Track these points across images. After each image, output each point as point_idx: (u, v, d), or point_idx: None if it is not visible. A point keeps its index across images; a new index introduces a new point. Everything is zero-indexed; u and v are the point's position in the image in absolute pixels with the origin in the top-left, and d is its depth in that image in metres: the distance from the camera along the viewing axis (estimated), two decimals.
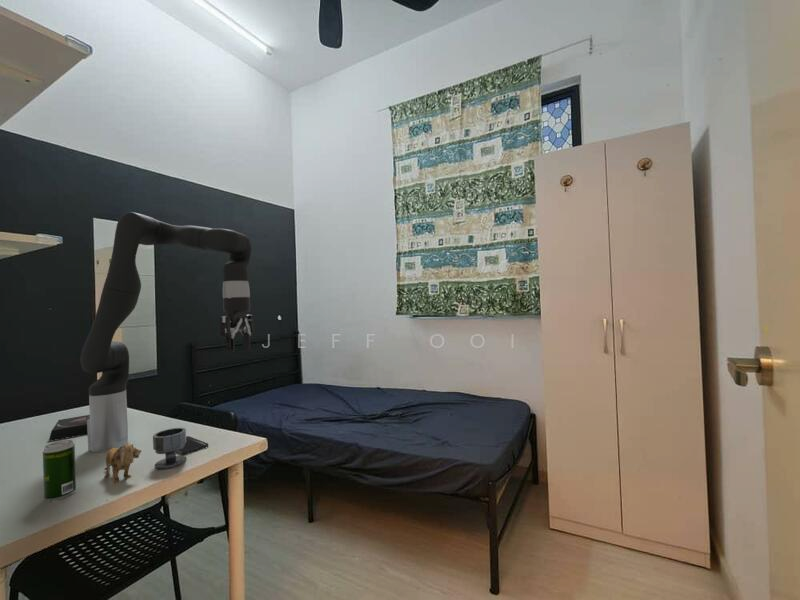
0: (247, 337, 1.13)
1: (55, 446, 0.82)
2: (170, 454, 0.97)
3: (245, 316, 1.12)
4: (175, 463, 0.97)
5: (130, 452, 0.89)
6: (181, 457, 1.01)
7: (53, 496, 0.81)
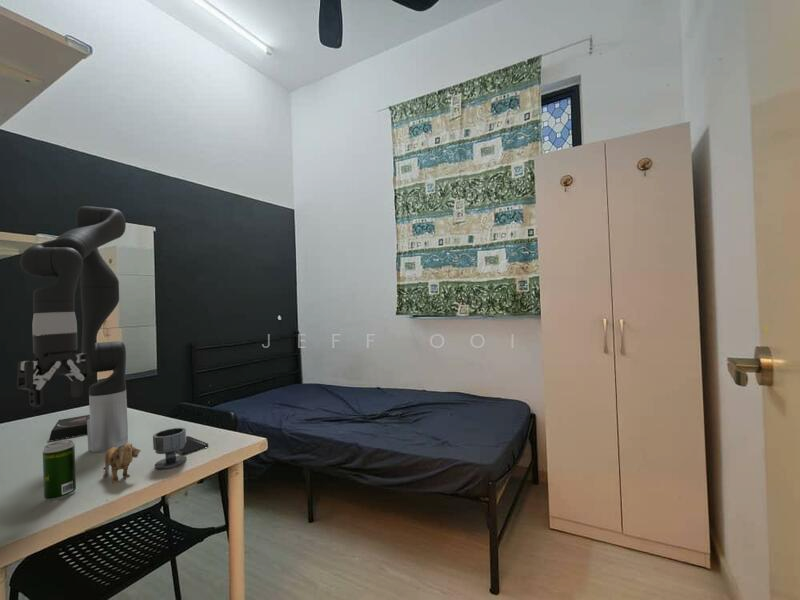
0: (77, 383, 0.88)
1: (55, 446, 0.82)
2: (170, 454, 0.97)
3: (72, 357, 0.86)
4: (175, 463, 0.97)
5: (129, 451, 0.89)
6: (181, 457, 1.01)
7: (53, 496, 0.81)
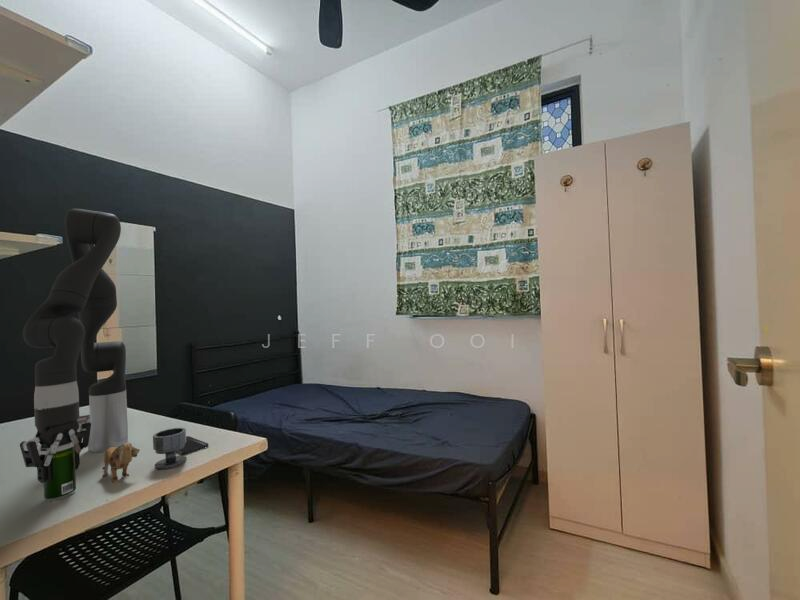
0: None
1: None
2: (170, 454, 0.97)
3: (74, 425, 0.86)
4: (175, 463, 0.97)
5: (128, 451, 0.89)
6: (181, 457, 1.01)
7: (53, 496, 0.81)
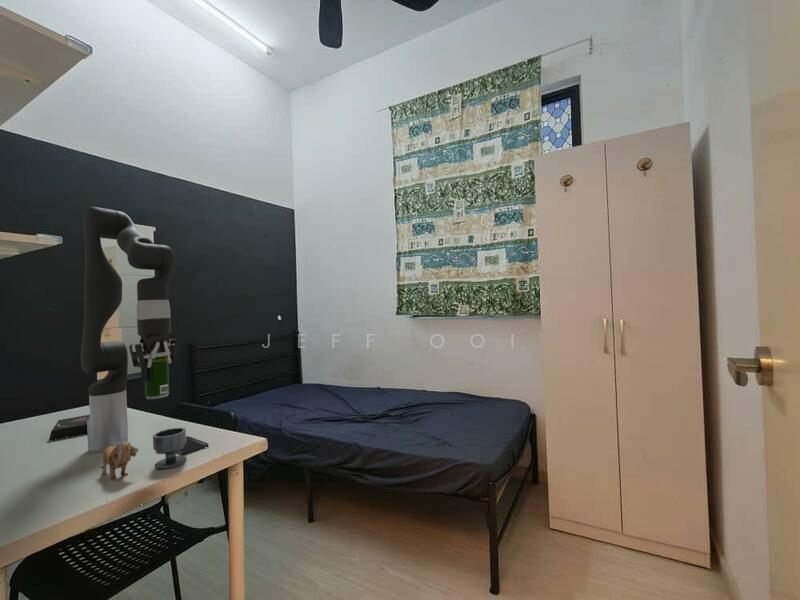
0: None
1: None
2: (170, 454, 0.97)
3: (166, 338, 1.00)
4: (175, 463, 0.97)
5: (127, 450, 0.90)
6: (181, 457, 1.01)
7: (153, 394, 0.94)
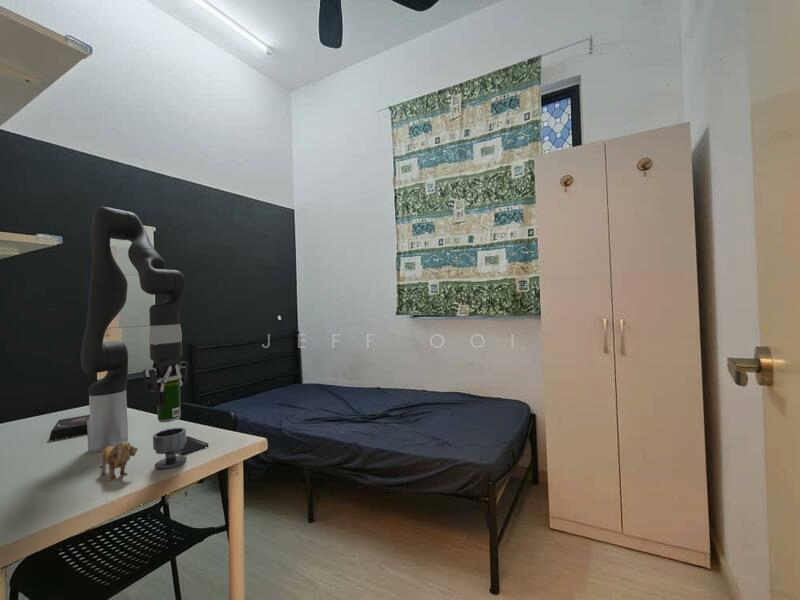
0: None
1: None
2: (170, 454, 0.97)
3: (177, 361, 1.02)
4: (175, 463, 0.97)
5: (126, 450, 0.90)
6: (181, 457, 1.01)
7: (166, 418, 0.96)
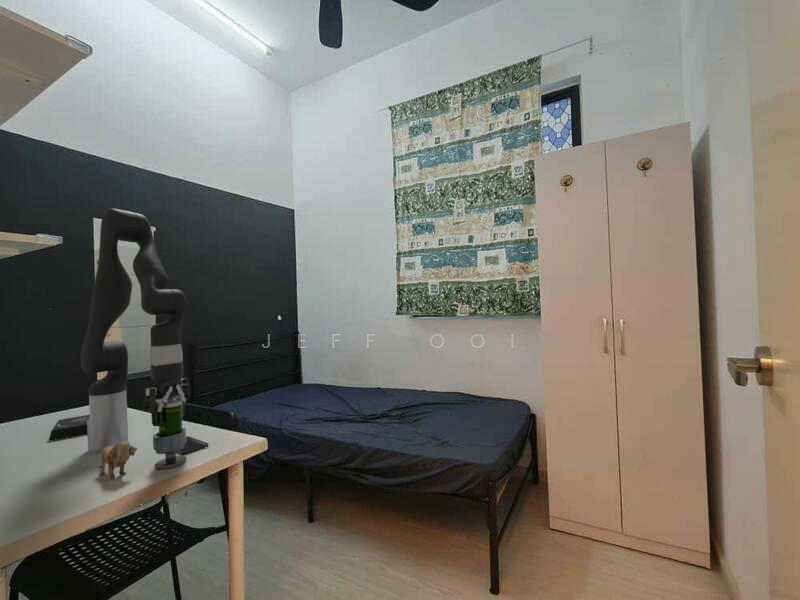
0: None
1: (170, 402, 0.97)
2: (170, 454, 0.97)
3: (178, 381, 1.01)
4: (175, 463, 0.97)
5: (126, 449, 0.90)
6: (181, 457, 1.01)
7: None
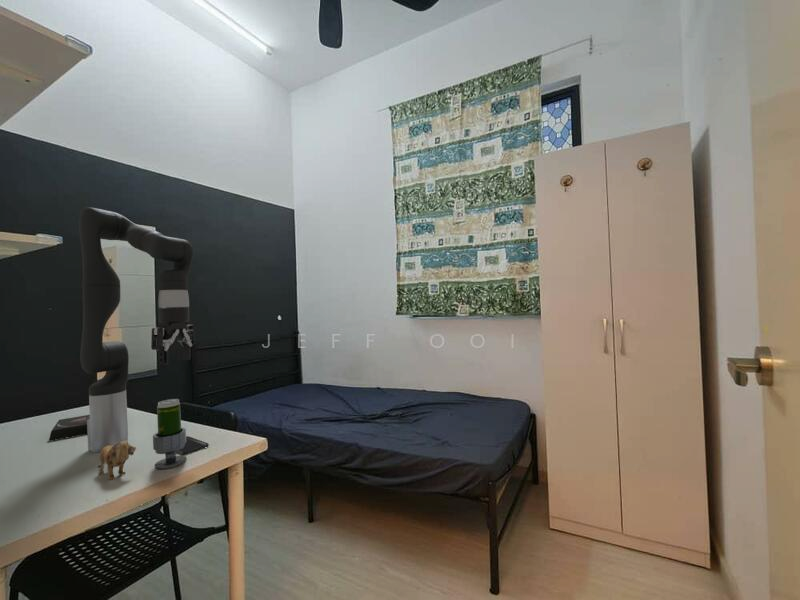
0: (187, 348, 1.08)
1: (167, 402, 0.97)
2: (170, 454, 0.97)
3: (184, 326, 1.06)
4: (175, 463, 0.97)
5: (125, 449, 0.91)
6: (181, 457, 1.01)
7: None
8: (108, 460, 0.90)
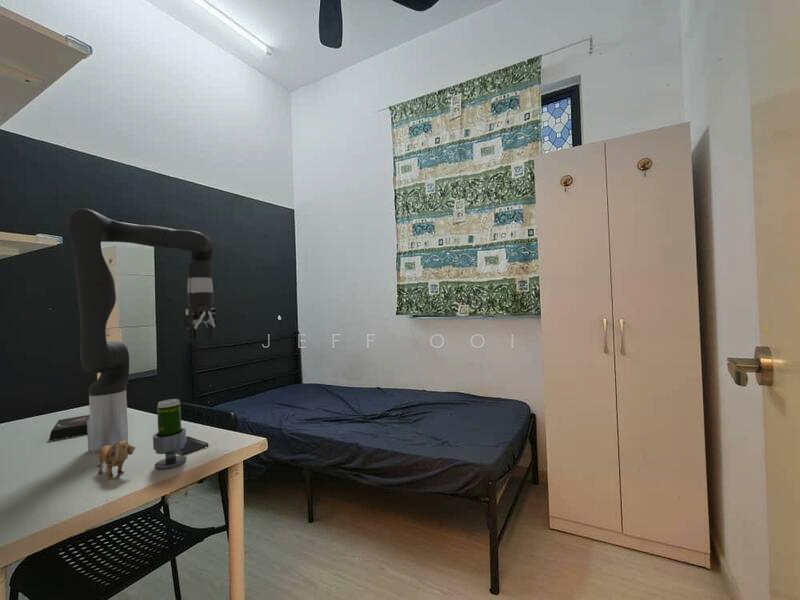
0: (211, 328, 1.25)
1: (167, 402, 0.97)
2: (170, 454, 0.97)
3: (209, 309, 1.24)
4: (175, 463, 0.97)
5: (124, 448, 0.91)
6: (181, 457, 1.01)
7: None
8: (107, 460, 0.90)
